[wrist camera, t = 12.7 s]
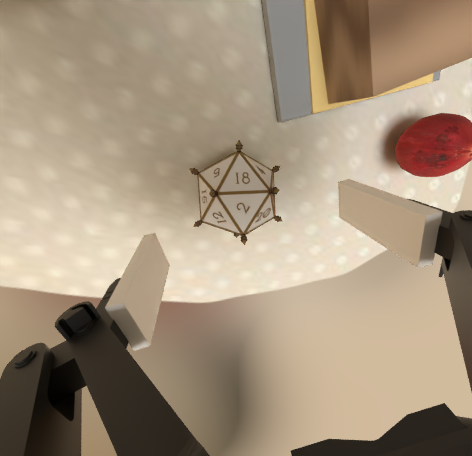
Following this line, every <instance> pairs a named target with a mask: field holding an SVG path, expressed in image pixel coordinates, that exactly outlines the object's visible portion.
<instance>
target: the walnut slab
mask: <svg viewBox="0 0 472 456" xmlns="http://www.w3.org/2000/svg"><path fill="white" fill-rule="evenodd" d="M314 4H315V11H316V18H317V26H318V33H319V40H320V47H321V54H322V62H323V69H324V76H325V83H326V91H327V98H328V104H333V103H339V102H345V101H351V100H357V99H364V98H370V97H374V96H377V95H379V94H382V93H384V92H387V91H389V90H392V89H394V88H397V87H399V86H402V85H404V84H407V83H409V82H412V81H414V80H417V79H419V78H422V77H424V76H427V75H429V74H432V73H434V72H437V71H439V70H442V69H444V68H447V67H449V66H452V65H454V64H457V63H459V62H462V61H464V60H467V59H469V58H472V0H314Z"/></svg>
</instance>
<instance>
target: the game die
mask: <svg viewBox="0 0 472 456" xmlns="http://www.w3.org/2000/svg"><path fill="white" fill-rule="evenodd" d="M242 146H243V145H242V144H241V142H240V140H239V141H238V143H237V144H236V149H237V152H235V153H233V154H231V155H229V156H228V157H226V158H224V159H222V160H220V161H219V162H217V163H215V164H213V165H211V166H210V167H208V168H206V169H204V170H202V171H201V172H198V170H196V169H195V168H191V169H190V170H191V172H192V174H194V175H198V186H199V202H200V217H201V220H199V221H197V222H195V224H194V226H193V227H199V226H200V225H201V224H202V223H206V224H209V225H212V226H215V227H217V228H220V229H223V230H226V231H229V232H232V233H234V236H235V237H236V238H237V236H239V235H241V242H243V244H244V245H245V243H246V241H247V237H246V236H245V235H246V234H248V233H249V232H251V231H253V230H255V229H256V228H258V227H260V226H261V225H263V224H265V223H266V222H268V221H270V220H271V219H273V218H274V219H275V221H277V222H278V221H282V219H281V217H279V216H276V215H275V194H277V192H278V191H279V189H277V187H275V188H274V172H277V171H278V170H279V168H280V166H275V167H273V169H272V170H271V169H269V168H268V167H266V166H264V165H263V164H261V163H259V162H257V161H256V160H254V159H252V158H251V157H249V156H247V155H246V154H244V153H242V152H241V149H242Z"/></svg>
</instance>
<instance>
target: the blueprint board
mask: <svg viewBox="0 0 472 456" xmlns="http://www.w3.org/2000/svg"><path fill="white" fill-rule="evenodd" d="M261 1H262V8H263V16H264V23H265V30H266V38H267V45H268V53H269V60H270V67H271V75H272V82H273V90H274V97H275V104H276V112H277V119H278V122H284V121H287V120H291V119H295V118H299V117H302V116H306V115H310V114H314V113H318V112H322V111H326V110H329V109H333V108H337V107H340V106H344V105H348V104H352V103H355V102H359V101H363V100H367V99H370V98H374V97H378V96H381V95H385V94H389V93H393V92H396V91H400V90H404V89H408V88H411V87H415V86H419V85H422V84H426V83H430V82H433V81H436V80H439V77H440V71H441V70H439V71H437V72H434V73H432V74H429V75H427V76H424V77H422V78H419V79H417V80H414V81H412V82H409V83H407V84H404V85H402V86H399V87H397V88H394V89H392V90H389V91H387V92H384V93H382V94H379V95H377V96H374V97H370V98H364V99H357V100H351V101H345V102H339V103H333V104H328V98H327V91H326V83H325V76H324V69H323V62H322V54H321V47H320V40H319V33H318V26H317V18H316V11H315V4H314V0H261Z"/></svg>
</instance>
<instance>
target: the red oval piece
mask: <svg viewBox="0 0 472 456" xmlns="http://www.w3.org/2000/svg"><path fill="white" fill-rule="evenodd" d="M395 157H396V159H397V161H398V163H399V165H400V167H401V168H402V169H404V170H406V171H407V172H409V173H411V174H413V175H415V176H420V177H438V176H442V175H445V174H448V173H450V172H453V171H455V170H458V169H459V168H461V167H463V166H464V165H465V164H467V163H468V162H469V161H471V160H472V123H471V121H470V120H468V119H467V118H466V117H463V116H460V115H456V114H447V113H440V114H436V115H432V116H428V117H425V118H422V119H420V120H419V121H417V122H415V123H414V124H412V125H411V126H409V127H408V128H407V129H406V130H405V132H404V133H403V134H402V135H401V136H400V138H399V140H398V142H397V145H396V150H395Z"/></svg>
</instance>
